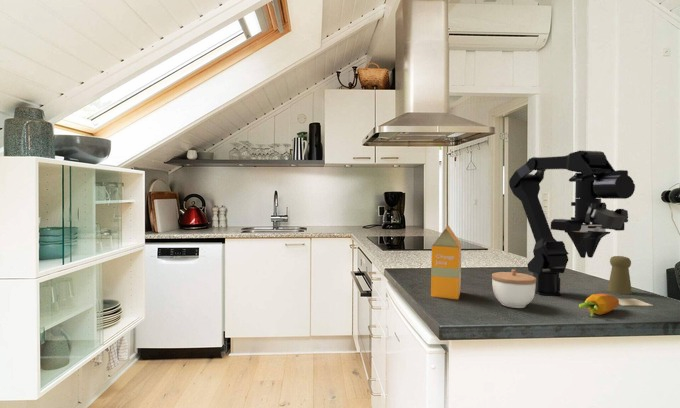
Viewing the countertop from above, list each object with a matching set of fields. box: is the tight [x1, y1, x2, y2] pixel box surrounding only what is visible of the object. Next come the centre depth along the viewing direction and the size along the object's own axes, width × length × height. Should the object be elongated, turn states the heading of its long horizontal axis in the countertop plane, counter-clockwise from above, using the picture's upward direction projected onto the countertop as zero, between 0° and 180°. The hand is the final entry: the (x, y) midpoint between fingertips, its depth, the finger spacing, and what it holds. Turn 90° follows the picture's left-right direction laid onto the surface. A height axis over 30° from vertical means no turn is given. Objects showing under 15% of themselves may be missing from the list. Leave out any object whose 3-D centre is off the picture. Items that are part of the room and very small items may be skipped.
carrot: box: [578, 293, 620, 318], centre depth 92 cm, size 5×5×15 cm
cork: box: [607, 255, 633, 296], centre depth 113 cm, size 6×6×11 cm
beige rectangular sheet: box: [617, 298, 654, 307], centre depth 101 cm, size 8×6×1 cm
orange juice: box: [430, 225, 463, 300], centre depth 108 cm, size 8×9×20 cm
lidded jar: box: [491, 269, 536, 309], centre depth 98 cm, size 11×11×9 cm
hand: (586, 257), depth 97 cm, fingers closed
